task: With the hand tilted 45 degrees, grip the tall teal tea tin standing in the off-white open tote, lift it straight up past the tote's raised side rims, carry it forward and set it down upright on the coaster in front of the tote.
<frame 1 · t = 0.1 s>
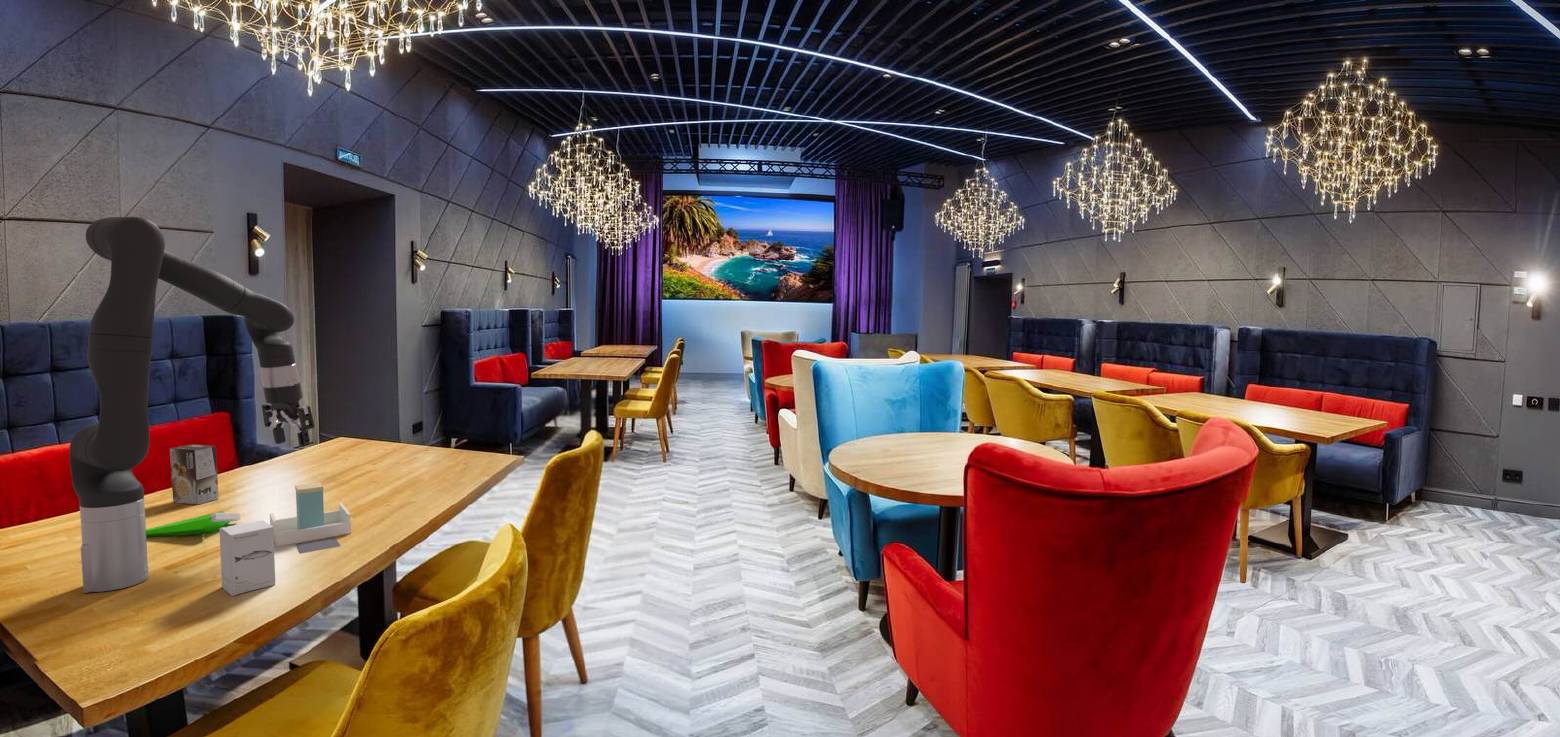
hand: (292, 444, 167), 22 cm above the table, tool pointing down, fingers open, 8 cm apart
tote: (310, 534, 166), on the table
coaster: (318, 547, 157), on the table
supplement box: (249, 587, 135), on the table
coffee box: (196, 501, 191), on the table
tea tin: (310, 532, 165), point 1 cm above the table, touching tote
green and white wedge: (177, 537, 163), on the table
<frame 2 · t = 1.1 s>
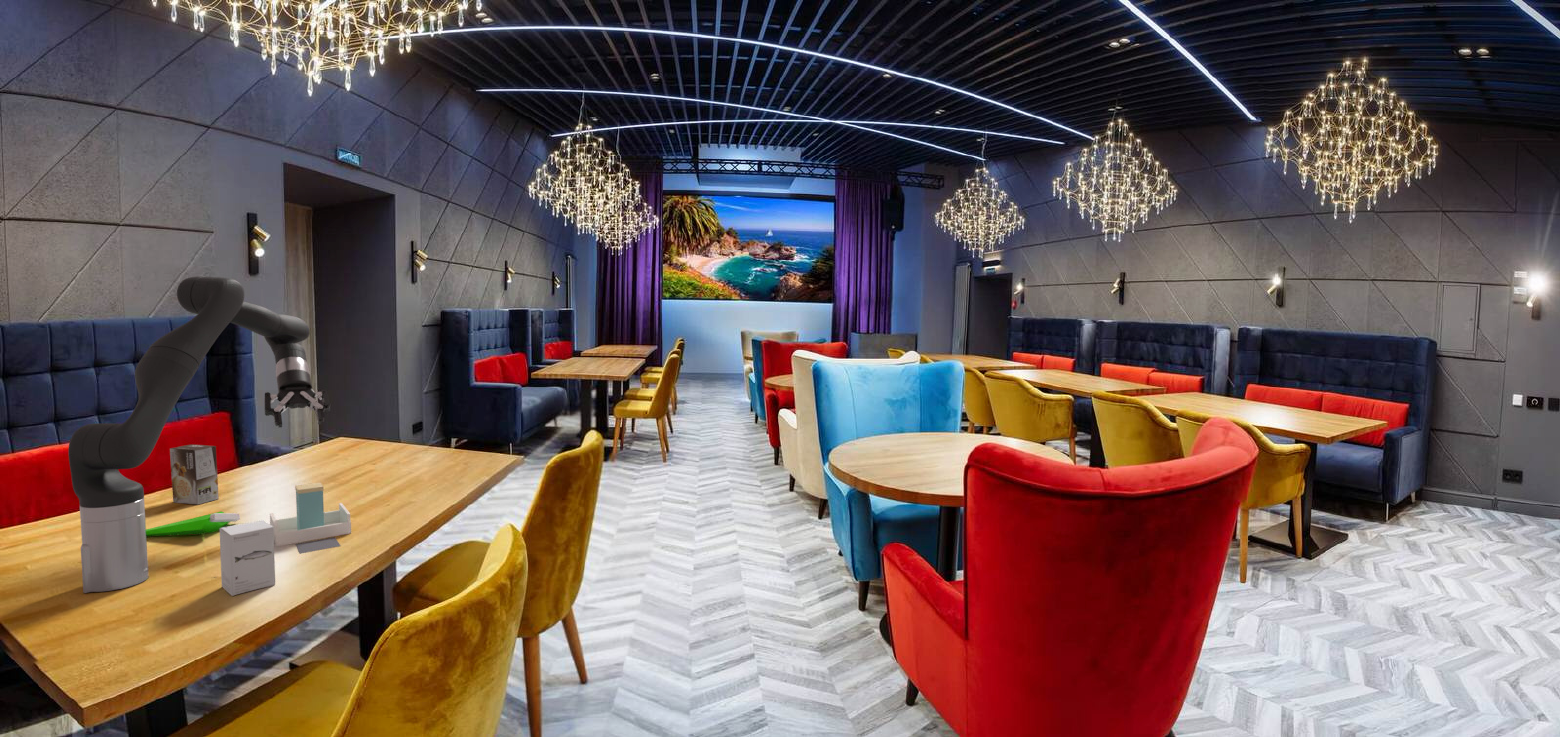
hand: (300, 424, 173), 26 cm above the table, tool tilted 45°, fingers open, 8 cm apart
nothing on the table moved.
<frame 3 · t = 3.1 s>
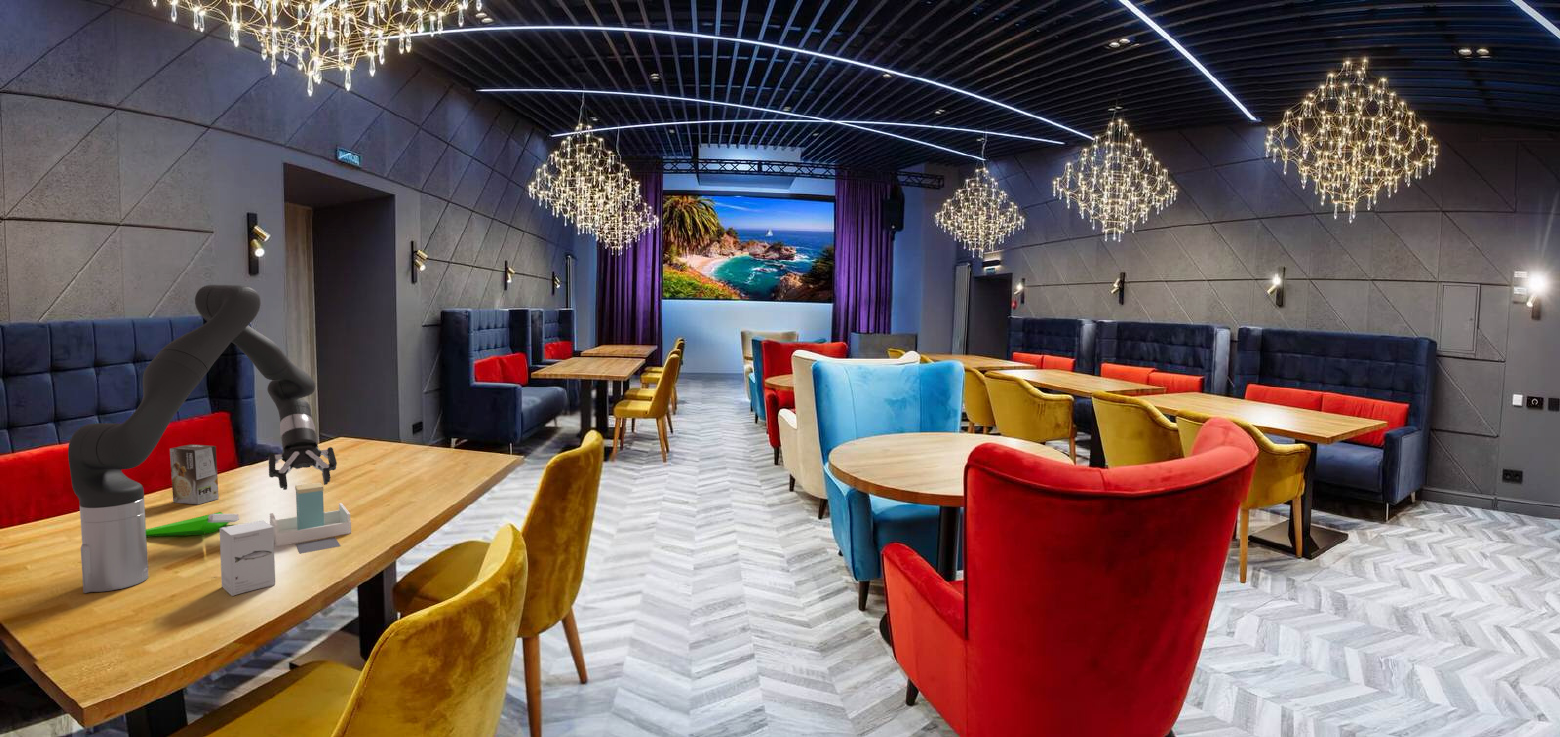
hand: (306, 485, 168), 12 cm above the table, tool tilted 45°, fingers open, 8 cm apart
nothing on the table moved.
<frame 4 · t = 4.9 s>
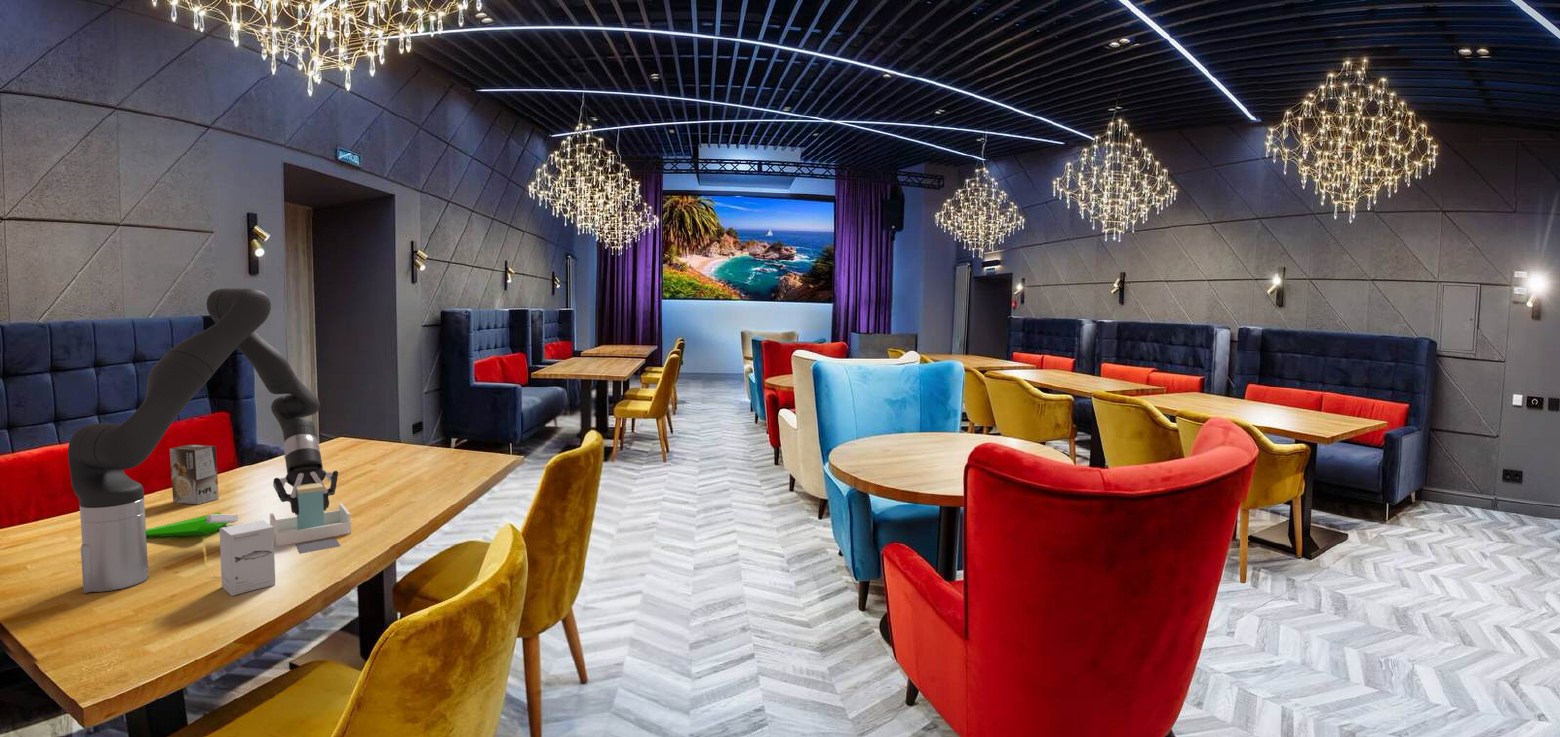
hand: (311, 510, 164), 7 cm above the table, tool tilted 45°, fingers closed on tea tin, 5 cm apart
tea tin: (310, 532, 165), point 1 cm above the table, touching gripper, tote
everything else where it was.
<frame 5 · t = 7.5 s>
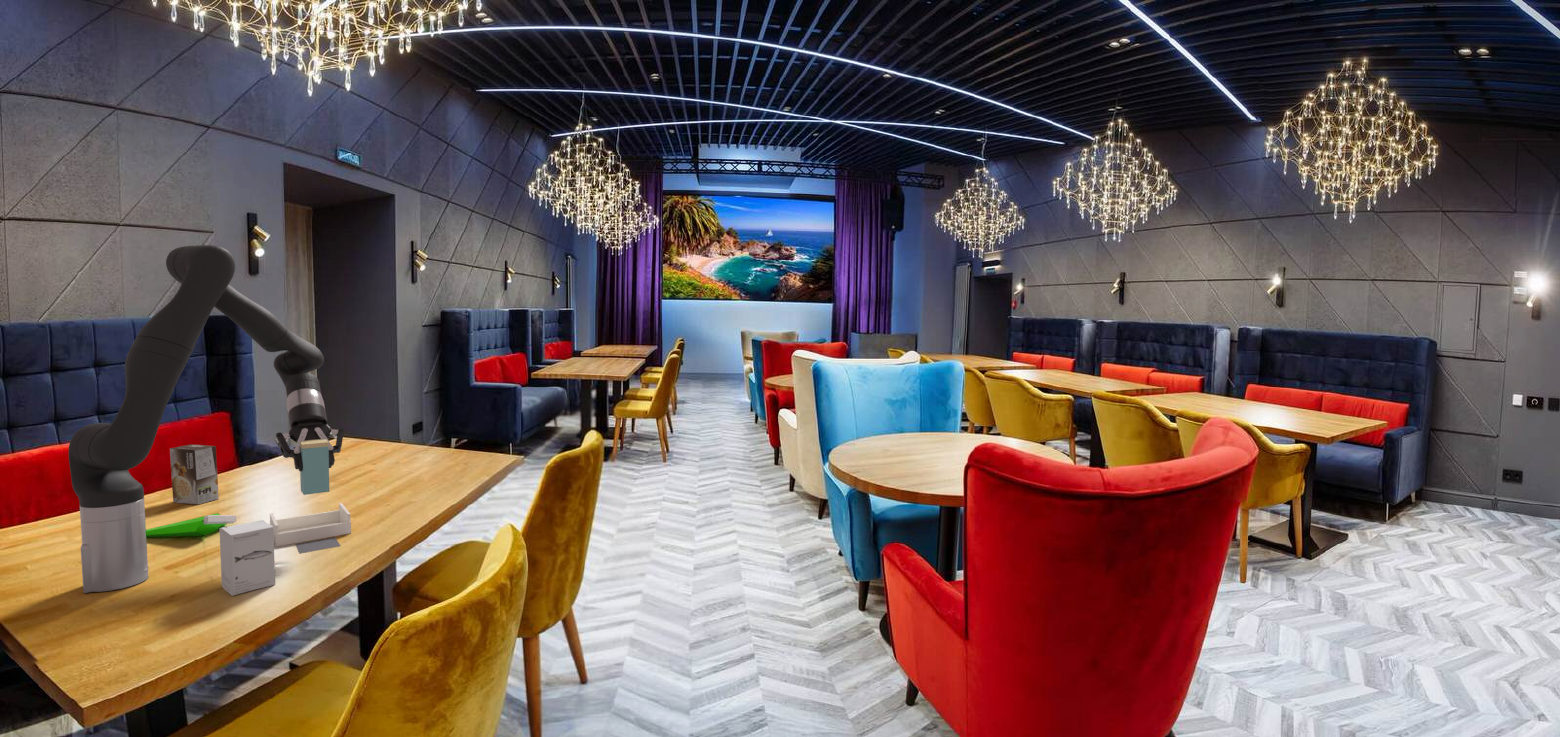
hand: (315, 467, 154), 20 cm above the table, tool tilted 45°, fingers closed on tea tin, 5 cm apart
tea tin: (315, 491, 156), point 14 cm above the table, touching gripper
when the fingers open (8 cm above the table, at t = 10.3 s): tea tin drops 1 cm, resting on coaster.
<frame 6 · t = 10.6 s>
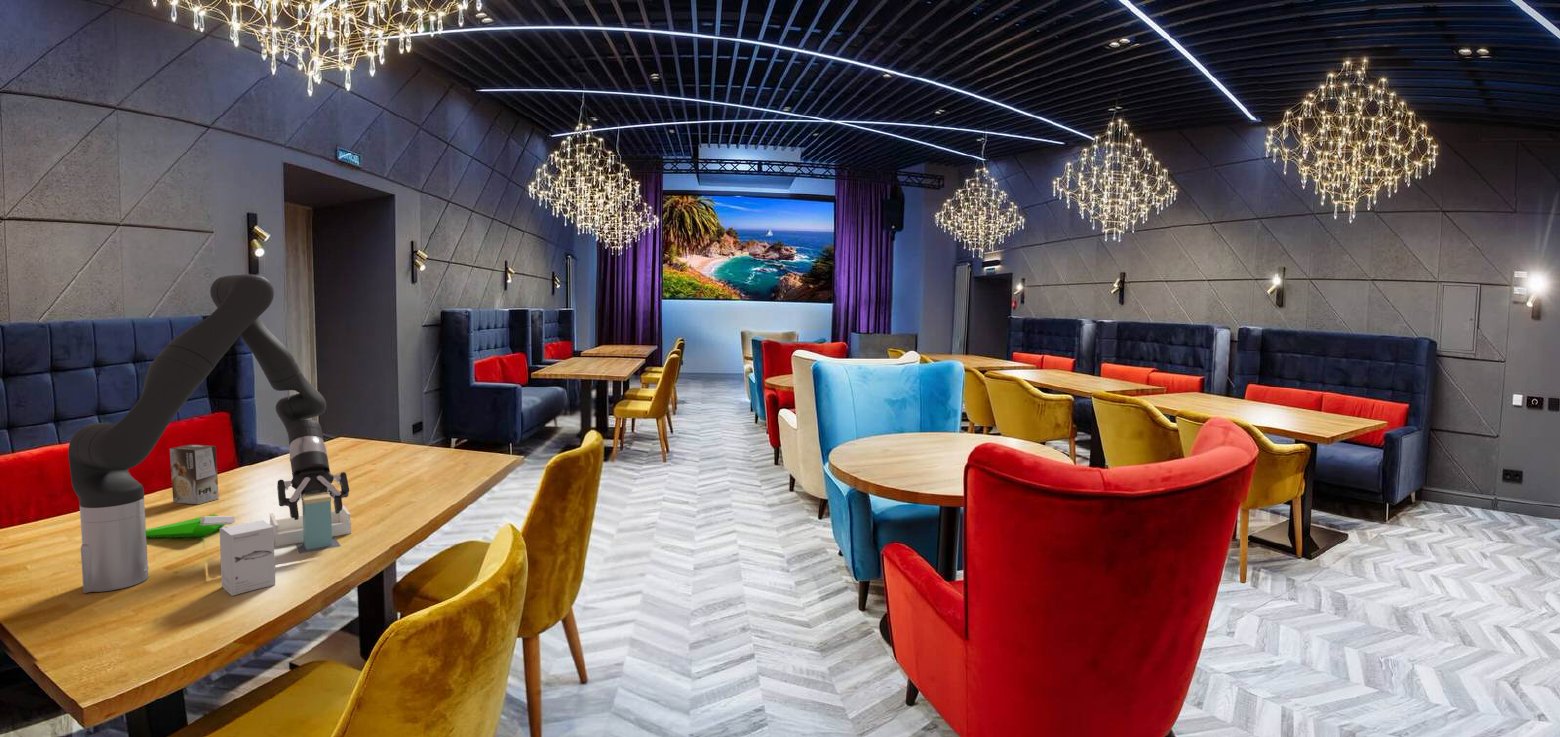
hand: (317, 514, 155), 8 cm above the table, tool tilted 45°, fingers open, 7 cm apart
tea tin: (317, 544, 157), point 1 cm above the table, touching coaster
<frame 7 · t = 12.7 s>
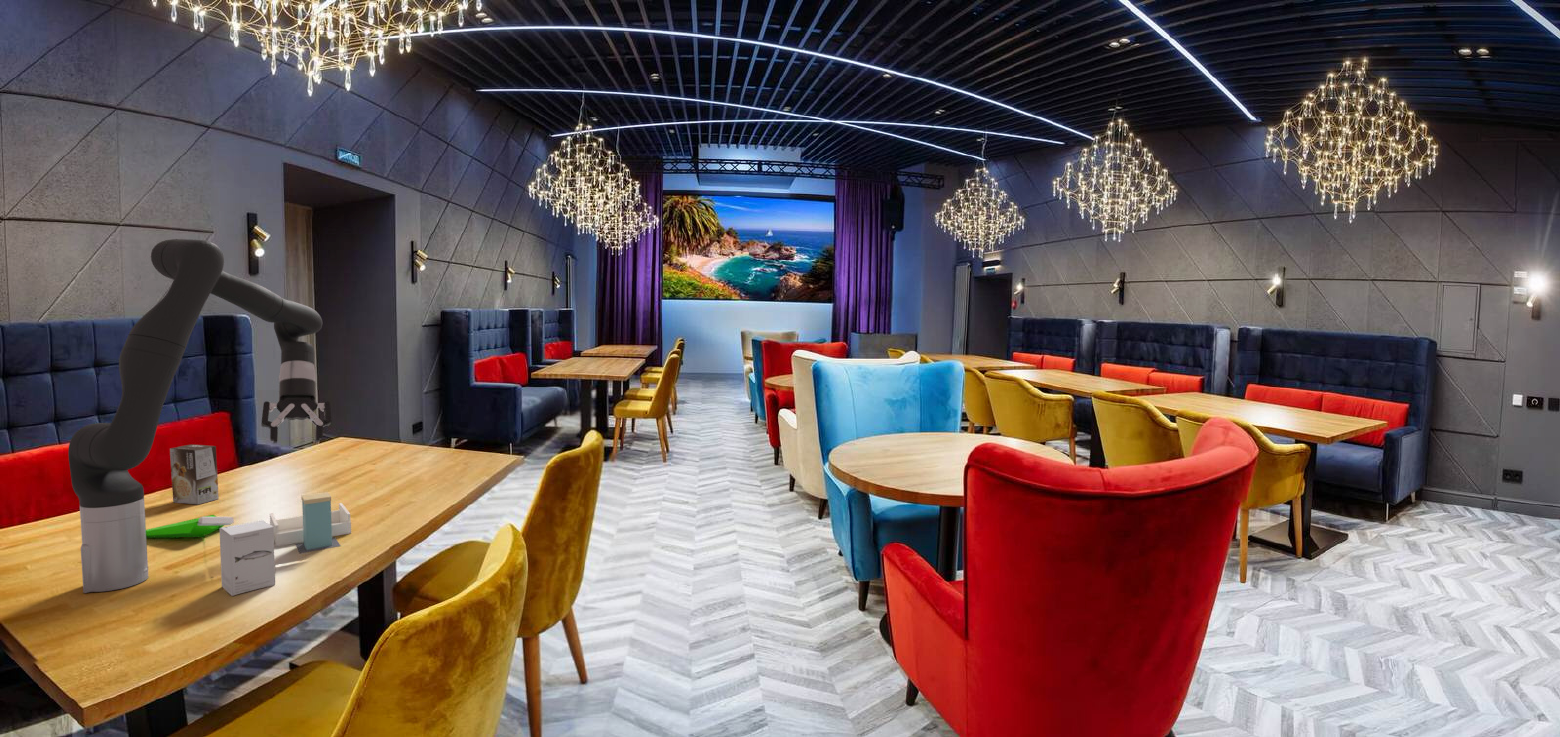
hand: (296, 442, 165), 24 cm above the table, tool tilted 25°, fingers open, 8 cm apart
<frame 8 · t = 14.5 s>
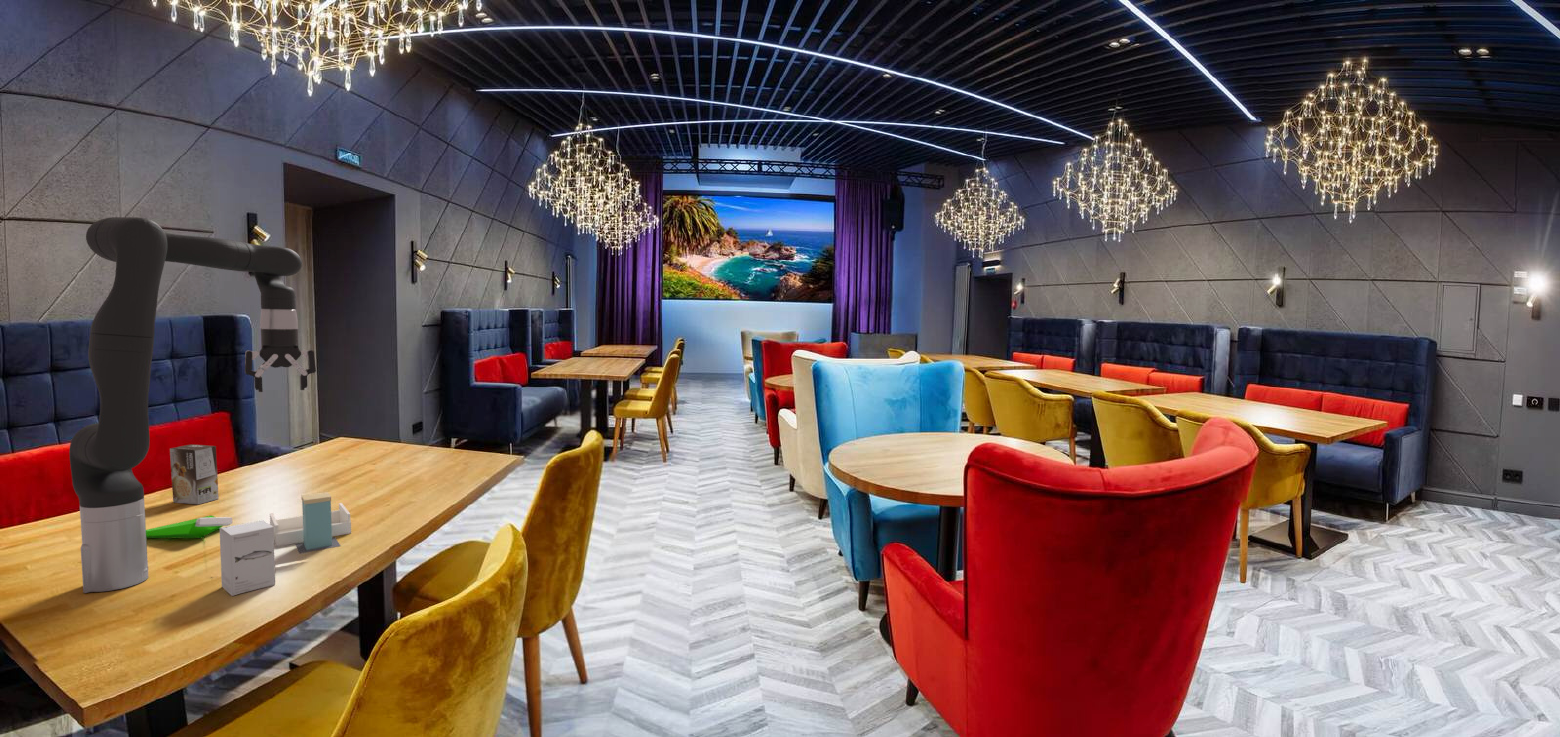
hand: (281, 390, 166), 36 cm above the table, tool pointing down, fingers open, 8 cm apart
at the end: tea tin inside the target area on the coaster (0.2 cm from its centre), point 0.6 cm above the coaster's base; tea tin tilted 0°; tea tin touching coaster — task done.
